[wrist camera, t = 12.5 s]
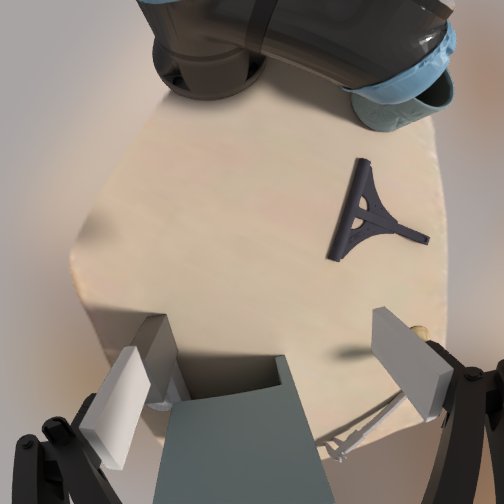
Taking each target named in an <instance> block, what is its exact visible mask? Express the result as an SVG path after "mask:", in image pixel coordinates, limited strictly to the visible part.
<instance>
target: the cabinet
mask: <svg viewBox="0 0 504 504" xmlns="http://www.w3.org/2000/svg"><path fill="white" fill-rule="evenodd" d="M275 361H276V366H277V371H278V376H279V381H280V385H278V386H274V387H269V388H264V389H259V390H254V391H249V392H243V393H237V394H232V395H225V396H219V397H212V398H205V399H197V400H188V401H179V402H173V406H172V411H171V415H170V420H169V424H168V429H167V433H166V438H165V443H164V448H163V453H162V457H161V462H160V468H159V472H158V478H157V483H156V489H155V494H154V499H153V504H336V502H335V500H334V497H333V494H332V491H331V488H330V485H329V482H328V480H327V477H326V473H325V471H324V468H323V465H322V462H321V459H320V456H319V453H318V450H317V447H316V444H315V442H314V439H313V436H312V433H311V430H310V427H309V424H308V421H307V418H306V415H305V413H304V410H303V407H302V404H301V401H300V398H299V395H298V392H297V389H296V386H295V383H294V380H293V378H292V375H291V372H290V369H289V366H288V363H287V360H286V357H285V355H282V356H278V357H275Z"/></svg>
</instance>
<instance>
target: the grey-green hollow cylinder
mask: <svg viewBox="0 0 504 504" xmlns="http://www.w3.org/2000/svg"><path fill="white" fill-rule="evenodd" d="M453 99H454V84H453V80H452V77H451V75H450V72H449V71H448V69H447V67H446V69H445V70H444V72H443V73H442V74H441V75H440V77H439V78H438V79H437V80H436V81H435V82H434V83H433V84H432V85H431V86H430V87H428V88H427V89H426V90H425V91H423V92H422V93H421V94H419V95H418V96H416V97H414V98H412V99H410V100H408V101H405V102H402V103H399V104H379V103H376V102H373V101H371V100H369V99H367V98H365V97H363V96H361V95H359V94H356V93H353V92H352V94H351V102H352V106H353V109H354V111H355V113H356V114H357V116H358V117H359V118H360V120H361V121H362V122H363V123H364V124H365V125H367V126H368V127H370V128H371V129H373V130H376V131H378V132H391V131H394V130H396V129H398V128H400V127H403V126H405V125H408V124H410V123H411V122H415V121H417V120H420V119H422V118H424V117H426V116H428V115H431V114H433V113H435V112H438V111H440V110H442V109H445V108H447V107H448V106H449V105H450V104H451V103H452V101H453Z"/></svg>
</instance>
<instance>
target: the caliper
mask: <svg viewBox="0 0 504 504" xmlns="http://www.w3.org/2000/svg"><path fill="white" fill-rule="evenodd" d="M406 398H407V396H406V395H405V394H404V392H403V391H402V392H400V393H399V394H398V395H397V396H396V397H395V398H394V399H393V400H392V401H391V402H390V403H389V404H388V405H387V406H386V407H385V408H384V409H383V410H382V411H381V412H380V413H379V414H378V415H377V416H376V417H374V418H373V419H372V420H371V421H370V422H369V423H368V424H366V425H365V426H364V427H363V428H362V429H361V430H359V431H357V430H355V431H354V432H353V433H352V434H350V435H349V436H348V438H347V440H345V441H344V442H343V441H341V440H339V439H337V438H333V440H334V442H335V443H336V444H337V445H338V446H339V448H337V449H336V450H334V449H333V448H332V447H331V446H330V445H329V444H328V443H327V442H326V443H325V446H326V449H327V451H328V454H329V455H330V456H331V457H332V458H333V459H334V460H335V461H337V460H339V461H340V462H342V459H341V457H342V458H344V459H347V458H346V457H345V456H344V453H346V454H347V453H348V452H349V451H351V450H352V449H353V448H354V447H356V446H357V445H358V444H359V443H360V442H362V441H363V440H364V439H365V436H366V435H367V434H368V433H370V432H371V431H372V430H373V429H374V428H375V427H377V426H378V425H379V424H380V423H381V422H382V421H383V420H384V419H385V418H386V417H387V416H389V415H390V414H391V413H392V412H393V411H394V410H395V409H396V408H397V407H398V406H399V405H400V404H401V403H402V402H403V401H404V400H405V399H406Z"/></svg>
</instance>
